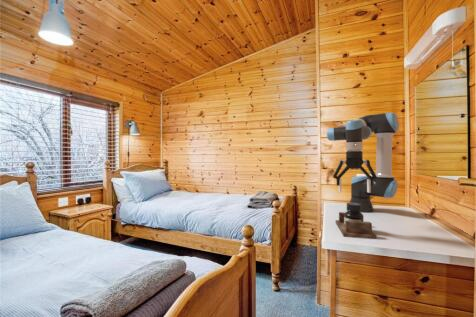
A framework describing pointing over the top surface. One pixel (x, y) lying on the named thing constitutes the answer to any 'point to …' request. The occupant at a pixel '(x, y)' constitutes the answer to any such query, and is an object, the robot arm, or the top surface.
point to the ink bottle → (353, 212)
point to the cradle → (355, 228)
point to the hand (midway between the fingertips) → (354, 192)
